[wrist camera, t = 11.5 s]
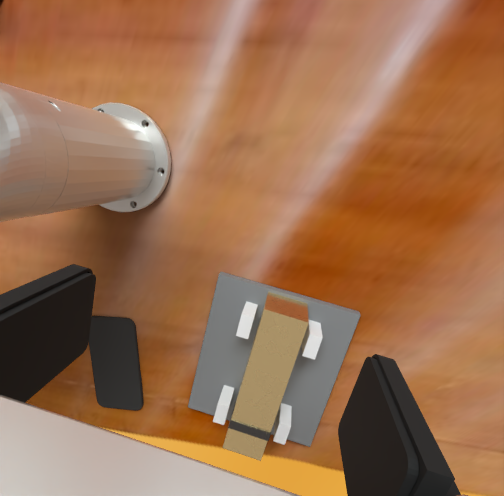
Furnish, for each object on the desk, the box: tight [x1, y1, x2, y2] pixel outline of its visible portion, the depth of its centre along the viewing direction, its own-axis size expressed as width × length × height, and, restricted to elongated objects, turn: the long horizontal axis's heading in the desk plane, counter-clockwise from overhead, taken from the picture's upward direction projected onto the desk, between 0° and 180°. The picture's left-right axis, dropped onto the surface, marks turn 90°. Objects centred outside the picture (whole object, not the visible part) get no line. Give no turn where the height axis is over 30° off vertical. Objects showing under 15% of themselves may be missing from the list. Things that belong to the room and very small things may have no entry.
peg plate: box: [188, 272, 360, 447], centre depth 40 cm, size 18×21×4 cm
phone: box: [89, 316, 144, 410], centre depth 46 cm, size 7×1×15 cm
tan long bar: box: [223, 292, 309, 461], centre depth 39 cm, size 20×5×5 cm, turn 165°
